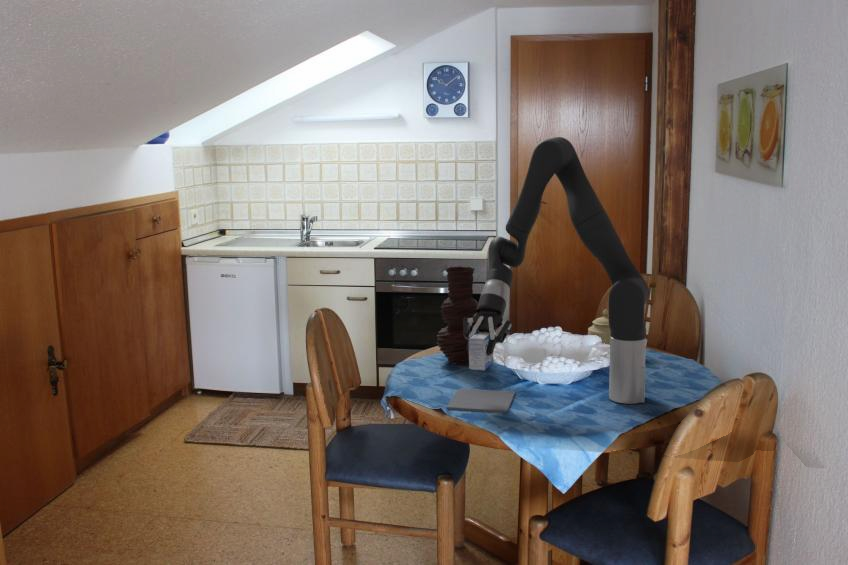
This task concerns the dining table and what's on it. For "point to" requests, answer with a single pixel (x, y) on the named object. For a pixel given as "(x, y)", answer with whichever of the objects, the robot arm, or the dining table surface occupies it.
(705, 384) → the dining table surface
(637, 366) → the robot arm
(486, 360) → the medicine box
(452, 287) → the vase
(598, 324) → the sugar bowl
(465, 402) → the charcoal mat
